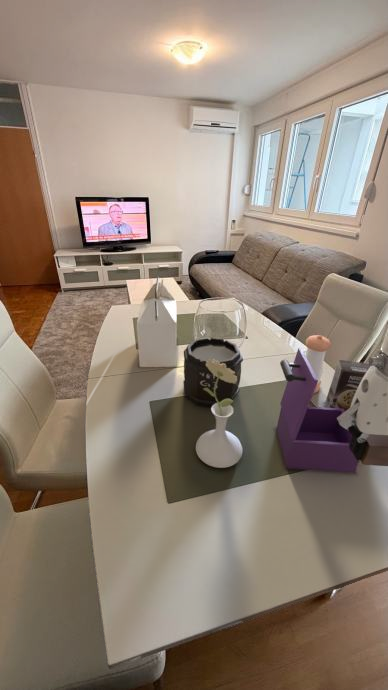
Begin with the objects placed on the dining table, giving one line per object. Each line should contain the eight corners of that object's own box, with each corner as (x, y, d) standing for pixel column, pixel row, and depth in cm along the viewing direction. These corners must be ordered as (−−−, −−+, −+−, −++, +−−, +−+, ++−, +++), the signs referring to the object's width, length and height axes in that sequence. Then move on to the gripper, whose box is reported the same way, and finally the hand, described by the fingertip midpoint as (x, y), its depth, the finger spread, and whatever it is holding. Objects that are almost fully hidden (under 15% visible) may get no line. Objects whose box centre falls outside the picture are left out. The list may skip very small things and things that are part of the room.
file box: (334, 433, 80) (343, 408, 76) (354, 473, 69) (365, 446, 65) (276, 430, 81) (281, 405, 77) (286, 469, 70) (292, 442, 65)
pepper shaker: (293, 389, 97) (305, 337, 88) (297, 378, 103) (309, 328, 94) (317, 396, 94) (331, 343, 85) (320, 384, 100) (334, 333, 91)
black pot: (222, 371, 106) (225, 331, 98) (249, 401, 91) (255, 357, 84) (174, 381, 99) (173, 340, 92) (194, 416, 85) (196, 369, 77)
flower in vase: (251, 460, 72) (265, 373, 60) (211, 480, 67) (218, 390, 55) (220, 426, 82) (227, 346, 70) (184, 441, 77) (184, 357, 65)
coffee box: (327, 417, 86) (341, 370, 78) (324, 403, 91) (337, 358, 83) (361, 423, 84) (380, 376, 76) (356, 408, 89) (373, 363, 82)
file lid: (301, 348, 68) (280, 345, 68) (318, 380, 57) (292, 376, 57) (283, 403, 76) (264, 401, 76) (295, 441, 65) (272, 438, 65)
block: (376, 446, 53) (384, 427, 51) (389, 466, 50) (398, 447, 47) (351, 444, 54) (358, 426, 52) (362, 465, 50) (369, 446, 48)
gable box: (176, 367, 107) (176, 292, 94) (139, 368, 106) (133, 292, 93) (176, 339, 127) (175, 273, 113) (145, 339, 126) (140, 273, 112)
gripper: (357, 378, 40) (327, 470, 49) (489, 383, 39) (434, 475, 48) (337, 350, 46) (314, 435, 55) (450, 354, 46) (408, 440, 54)
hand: (370, 453), depth 51 cm, fingers closed on block, 4 cm apart
